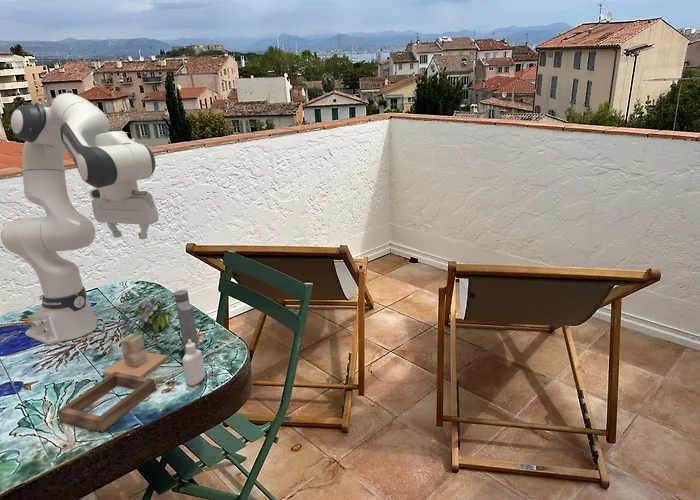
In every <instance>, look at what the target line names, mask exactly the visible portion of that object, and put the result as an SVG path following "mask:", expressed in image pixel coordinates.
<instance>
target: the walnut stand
mask: <svg viewBox="0 0 700 500" xmlns="http://www.w3.org/2000/svg"><path fill="white" fill-rule="evenodd" d="M156 386H157V385H156V382H155V379H153V378H148V377H145V376H144V377H139V376H134V375H129V374H124V373H118V372H114V373H112V374H111V375H110V376H106V377H105V378H103V380H101V381H100V382H98V383H96V384H95V385H93V386H92V387H90V388H89V389H88V390H86V391H84V392H83V393H82V394H80V395H79V396H77V397H76V398H74V399H73V400H71V401H70V402H68V403H66V404H65V405H63V406H62V407H61V408H59V409H58V410H56V411H57V415H58V419H59V422H60V423H63V424H68V425H70V426H71V425H72V426H76V427H80V428H84V429H87V428H88V429H87V430H91V429H92V430H91V431H95V430H96V431H95V432H99V431H101V432H100V433H104V432H105V431H106V430H108V429H109V428H110V427H111V426H112V424H115V423H117V422H118V421H119V420H120V419H121V418H122V417H123V416H125V415H126V414H128V413H129V412H131V410H132V409H134V408H135V407H136V406H137V405H139V404H140V403H141V402H143V400H145V399H146V398H147V397H148V396H150V395H151V394H152V393H153V392H155V391H156V390H157V387H156ZM116 387H121V388H127V389H132V391H130V393H128V394H127V395H126V396H125V397H123V398H122V399H120V400H119V401H118V402H116V404H114V405H112V406H111V407H110V408H109V409H107V410H106V411H105V412H104V413H101V415H99V414H94V413H89V412H85V411H84V410H86V409H87V408H88V407H89V406H91V405H92V404H93V403H95V402H97V401H98V400H100V399H101V398H102V397H103V396H105V395H106V394H108V393H109V392H110V391H111V390H113V389H114V388H116ZM107 428H108V429H107Z"/></svg>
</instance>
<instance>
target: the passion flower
mask: <svg viewBox="0 0 700 500" xmlns="http://www.w3.org/2000/svg"><path fill="white" fill-rule="evenodd" d="M143 303H144V301H142V302H140V303H139V305H137V308H136V309H135V313H138V312H139V311H140V310H141V312H140V314H138V316H139V317H138V318H139V319H138V322H139V323H140V324H141V326H140V328H141V329H143V328H146V325H147V323H148V322H149V324H151V325H152V327H153V328H152V329H153V330H154V332H156V333H159V327H161V330H164V328H165V327H166V326H168V323H170V320H169V319H170V318H174V317H175V316H174V310H170V311H164V309H163V307H162V303H161V300H160V298H159V296H156V297H155V299H154V298H153V299H150V300H148V301H147V303H145V305H144V304H143ZM143 305H144V306H143ZM169 317H170V318H169Z"/></svg>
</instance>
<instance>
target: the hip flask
mask: <svg viewBox="0 0 700 500" xmlns="http://www.w3.org/2000/svg"><path fill="white" fill-rule="evenodd" d="M173 297H174V298H175V299H174V300H175V305H176V310H177V311H176V312H177V317H178V323H179V329H180V336H181V341H182V346H183V351H184V352H183V353H184V355H185V354H186V347H185V345H186V344H188V340H189V339H191V341H192V343H195V346H196V350H200V347H199V340H198V333H197V332H198V331H197V327H196V326H197V325H196V321H195V314H194V308H193V305H191V303H190V299H189V292H188V290H187V289H180V290H176V291H175V292H173Z"/></svg>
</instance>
